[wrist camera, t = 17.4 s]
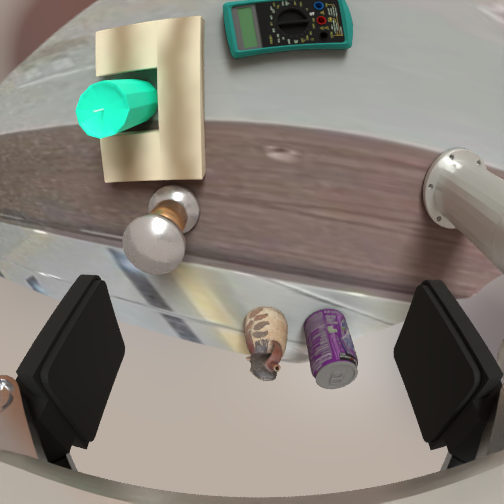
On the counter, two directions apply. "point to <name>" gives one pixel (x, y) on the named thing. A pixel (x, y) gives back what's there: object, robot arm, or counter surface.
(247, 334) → the figurine
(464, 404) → the robot arm
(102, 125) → the candle
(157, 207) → the bobbin post
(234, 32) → the digital multimeter
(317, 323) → the beverage can
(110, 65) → the notched board
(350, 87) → the counter surface
